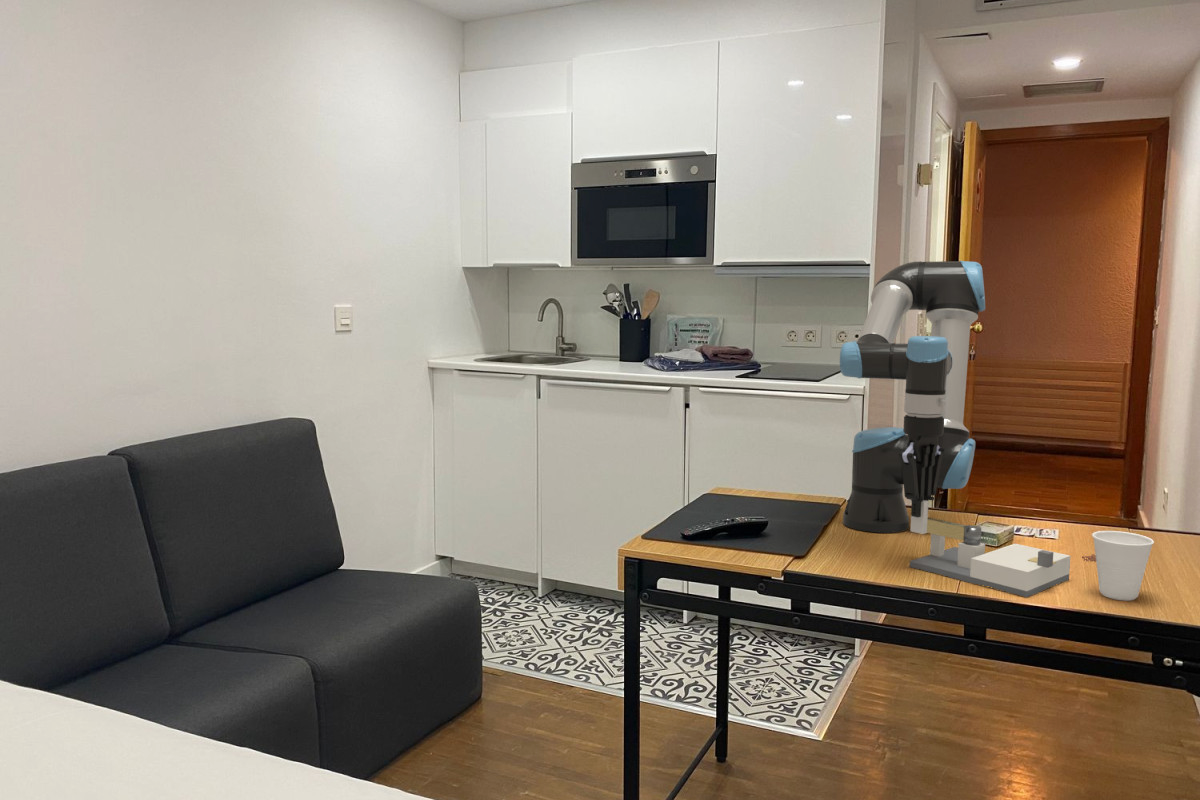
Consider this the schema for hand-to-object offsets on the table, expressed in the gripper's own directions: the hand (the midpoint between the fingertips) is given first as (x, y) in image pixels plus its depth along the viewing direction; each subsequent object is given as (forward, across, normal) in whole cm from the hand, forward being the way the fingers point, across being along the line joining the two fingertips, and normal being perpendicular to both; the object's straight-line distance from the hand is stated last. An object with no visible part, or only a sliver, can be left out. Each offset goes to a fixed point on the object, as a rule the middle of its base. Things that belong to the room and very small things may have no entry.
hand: (918, 532), depth 183 cm
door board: (+8, +9, -10) cm, 16 cm away
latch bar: (+2, +7, -2) cm, 8 cm away
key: (+8, +32, -22) cm, 40 cm away
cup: (+8, +15, -32) cm, 36 cm away
